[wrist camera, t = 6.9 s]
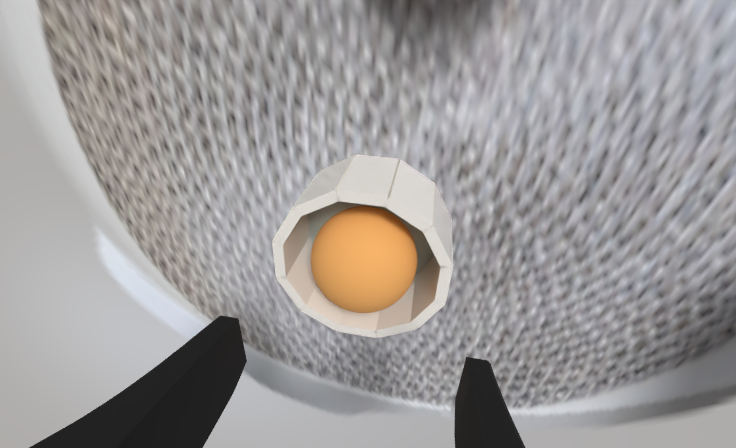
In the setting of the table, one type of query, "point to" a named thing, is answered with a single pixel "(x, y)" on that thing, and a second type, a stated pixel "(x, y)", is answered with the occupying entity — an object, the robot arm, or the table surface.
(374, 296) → the ball
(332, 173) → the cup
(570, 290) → the table surface
